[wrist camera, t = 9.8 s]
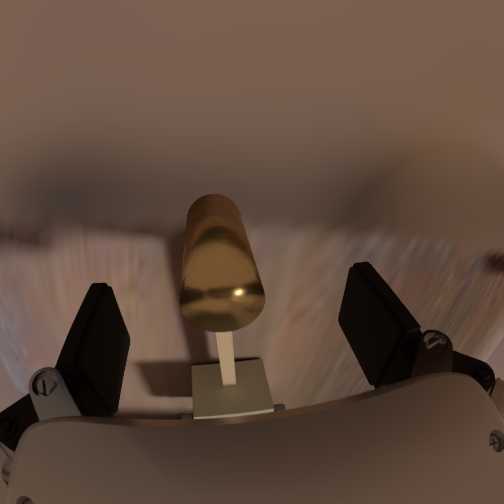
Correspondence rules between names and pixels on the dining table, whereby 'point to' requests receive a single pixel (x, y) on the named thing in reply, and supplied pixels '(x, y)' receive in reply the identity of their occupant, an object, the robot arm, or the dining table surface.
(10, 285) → the dining table surface
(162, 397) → the dining table surface
